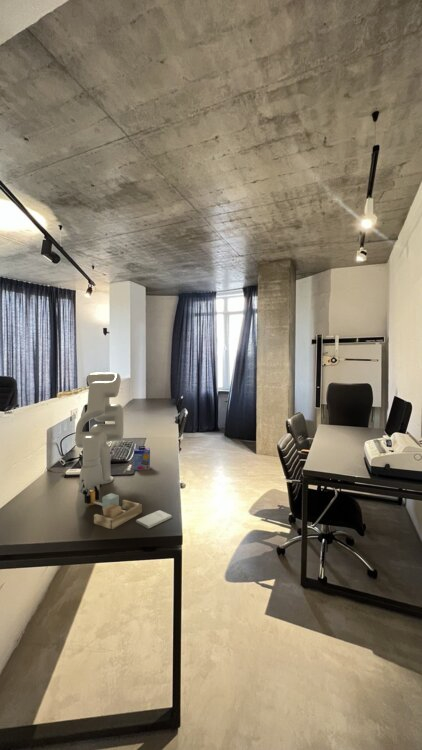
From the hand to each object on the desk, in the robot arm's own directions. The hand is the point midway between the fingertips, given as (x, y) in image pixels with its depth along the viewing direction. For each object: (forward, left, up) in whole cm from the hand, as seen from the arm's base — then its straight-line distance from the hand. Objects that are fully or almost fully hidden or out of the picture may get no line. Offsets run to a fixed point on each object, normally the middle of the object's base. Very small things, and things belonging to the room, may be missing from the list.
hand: (91, 500), depth 153 cm
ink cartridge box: (-14, +52, -2) cm, 54 cm away
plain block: (+21, -8, -2) cm, 23 cm away
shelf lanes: (+21, -4, -2) cm, 21 cm away
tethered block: (+6, 0, -2) cm, 6 cm away
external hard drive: (+35, +2, -2) cm, 35 cm away
